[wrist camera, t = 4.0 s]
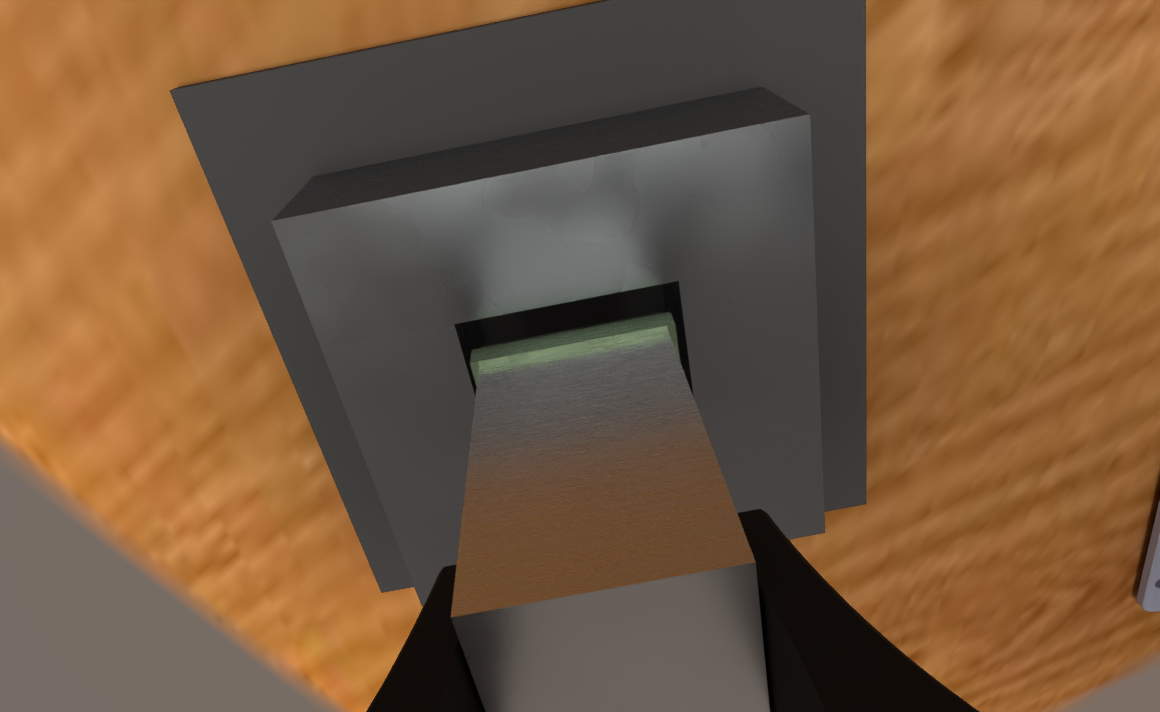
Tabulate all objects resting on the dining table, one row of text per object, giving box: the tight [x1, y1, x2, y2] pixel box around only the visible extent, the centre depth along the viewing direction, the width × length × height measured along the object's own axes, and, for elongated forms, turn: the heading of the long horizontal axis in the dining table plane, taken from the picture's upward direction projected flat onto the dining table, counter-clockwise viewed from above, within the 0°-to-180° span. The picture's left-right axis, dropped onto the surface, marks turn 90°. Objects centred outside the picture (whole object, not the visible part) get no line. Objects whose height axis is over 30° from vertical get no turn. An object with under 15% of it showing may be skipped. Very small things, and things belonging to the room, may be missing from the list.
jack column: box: [451, 312, 770, 712], centre depth 14 cm, size 4×4×8 cm
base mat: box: [170, 0, 866, 593], centre depth 21 cm, size 16×16×1 cm
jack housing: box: [271, 87, 825, 606], centre depth 19 cm, size 11×11×4 cm
